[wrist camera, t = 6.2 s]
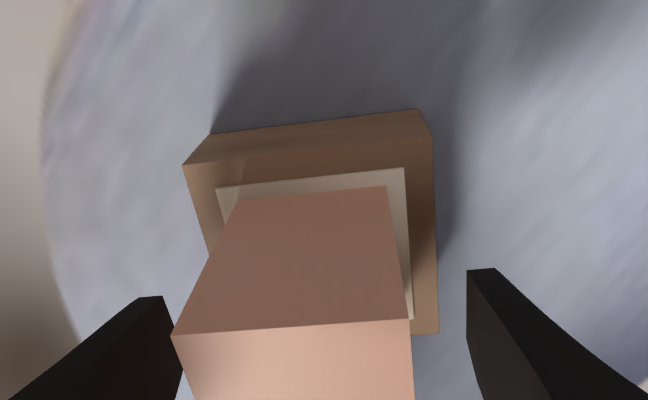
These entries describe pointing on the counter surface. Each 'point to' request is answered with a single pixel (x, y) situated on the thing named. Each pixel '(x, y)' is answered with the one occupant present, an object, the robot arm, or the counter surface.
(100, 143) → the counter surface
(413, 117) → the walnut foundation
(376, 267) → the terracotta block
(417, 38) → the counter surface
